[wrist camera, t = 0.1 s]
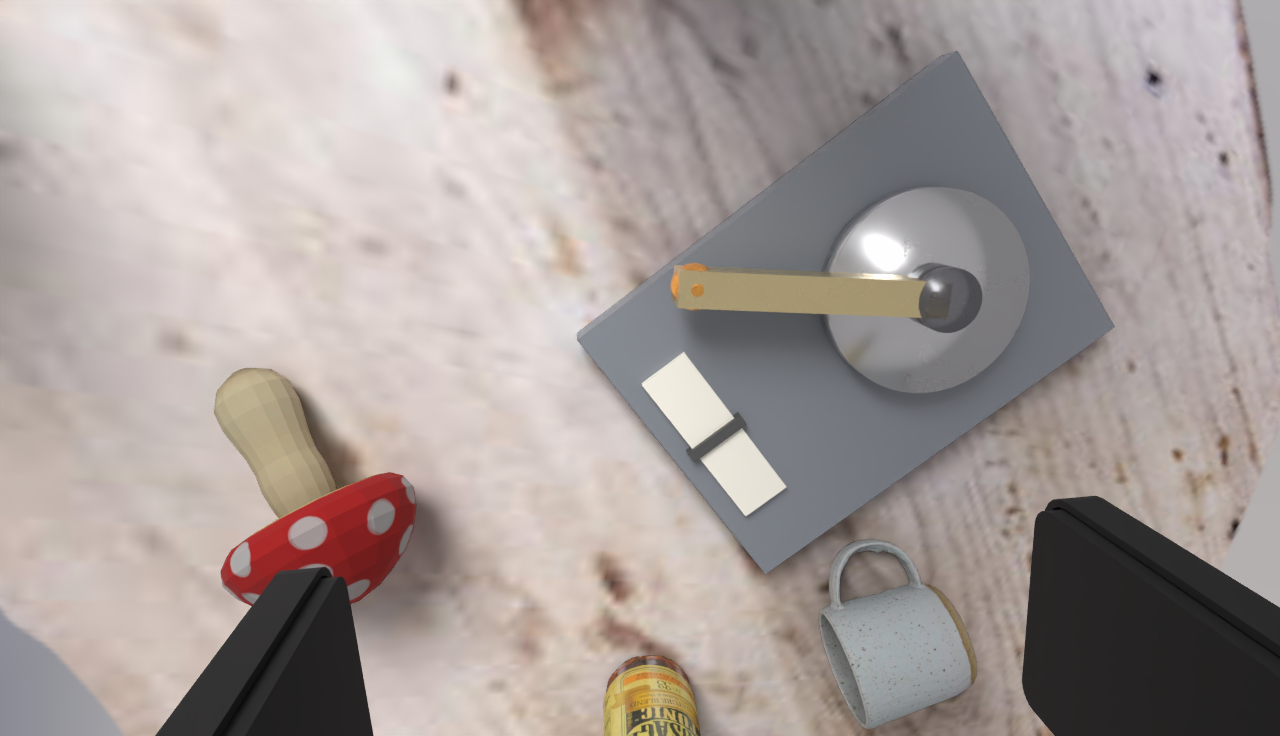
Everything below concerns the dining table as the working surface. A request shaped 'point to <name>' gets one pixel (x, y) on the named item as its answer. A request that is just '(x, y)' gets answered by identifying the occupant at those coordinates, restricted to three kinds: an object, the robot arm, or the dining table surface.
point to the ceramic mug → (894, 644)
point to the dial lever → (896, 288)
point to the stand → (798, 344)
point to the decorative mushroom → (306, 497)
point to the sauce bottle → (650, 700)
